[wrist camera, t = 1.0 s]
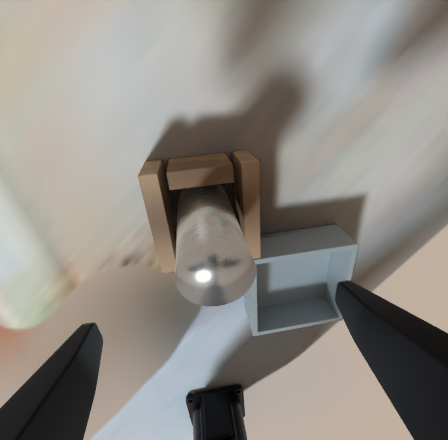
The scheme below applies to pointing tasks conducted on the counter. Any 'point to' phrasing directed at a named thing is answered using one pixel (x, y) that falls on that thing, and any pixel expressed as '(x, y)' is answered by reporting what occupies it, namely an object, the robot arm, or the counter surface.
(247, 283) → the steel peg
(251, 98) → the counter surface
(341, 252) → the tray
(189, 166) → the socket block
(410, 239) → the counter surface
